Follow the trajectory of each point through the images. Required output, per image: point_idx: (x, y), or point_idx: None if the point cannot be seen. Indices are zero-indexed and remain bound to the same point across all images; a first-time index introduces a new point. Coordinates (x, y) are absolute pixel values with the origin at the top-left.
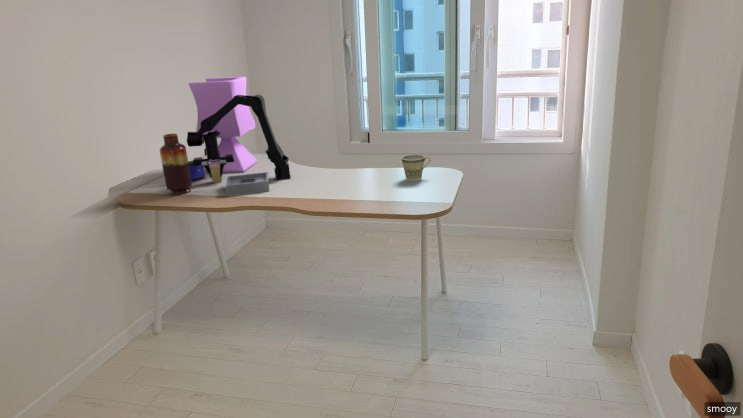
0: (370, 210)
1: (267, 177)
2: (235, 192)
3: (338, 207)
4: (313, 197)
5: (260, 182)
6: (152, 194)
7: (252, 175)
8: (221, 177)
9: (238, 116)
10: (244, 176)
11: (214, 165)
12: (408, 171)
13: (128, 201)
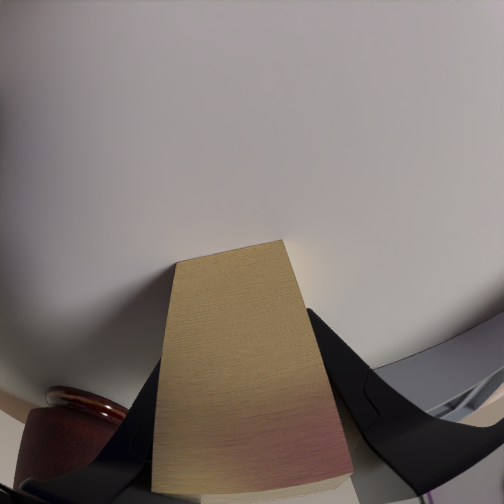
0: (496, 398)
1: (498, 388)
2: None
3: (483, 404)
4: None
5: (457, 420)
6: (10, 396)
7: (493, 367)
8: (291, 269)
9: None
10: (461, 385)
11: (259, 498)
12: None
13: (15, 417)
